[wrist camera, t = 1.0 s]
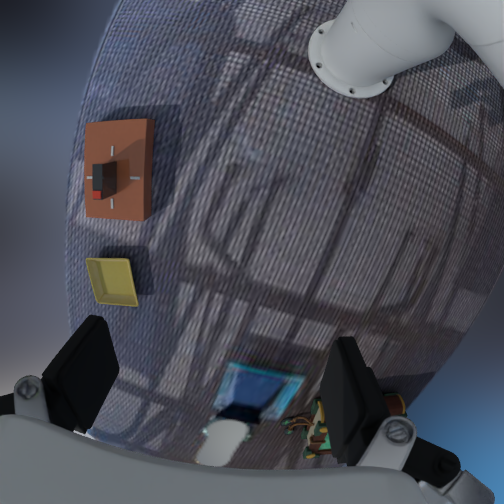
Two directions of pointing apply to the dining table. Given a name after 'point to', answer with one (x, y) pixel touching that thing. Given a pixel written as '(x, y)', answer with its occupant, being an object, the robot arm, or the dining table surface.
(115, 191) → the black block red end
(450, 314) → the dining table surface
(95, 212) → the panel
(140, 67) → the dining table surface
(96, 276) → the yellow square tray
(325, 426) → the book
